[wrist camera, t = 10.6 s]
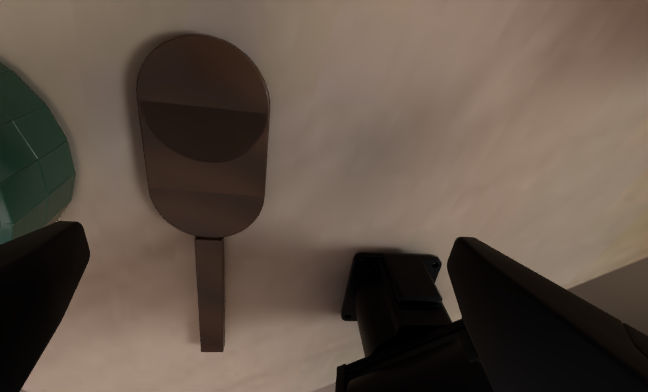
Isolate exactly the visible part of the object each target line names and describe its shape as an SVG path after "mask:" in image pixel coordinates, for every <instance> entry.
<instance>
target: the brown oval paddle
mask: <svg viewBox="0 0 648 392" xmlns="http://www.w3.org/2000/svg"><path fill="white" fill-rule="evenodd" d="M136 90H137V102H138V110H139V118H140V126H141V134H142V141H143V149H144V157H145V165H146V173H147V181H148V189H149V194H150V197H151V200H152V202H153V204H154V206H155V208H156V209H157V211H158V212H159V214H160V215H161V216H162V217H163V218H164V219H165V220H166V221H167V222H169V223H170V224H171V225H173V226H174V227H176V228H177V229H179V230H181V231H183V232H185V233H188V234H191V235H194V236H196V238H195V255H196V272H197V290H198V307H199V325H200V342H201V352H223V350H224V345H225V310H224V237H227V236H231V235H234V234H236V233H239V232H241V231H242V230H244V229H246V228H247V227H248V226H249V225H251V224H252V223H253V222H254V221H255V220H256V218H257V217H258V215H259V214H260V211H261V209H262V206H263V203H264V196H265V182H266V166H267V150H268V134H269V118H270V99H269V93H268V89H267V85H266V83H265V80H264V78H263V76H262V74H261V73H260V71H259V69H258V68H257V66H256V65H255V64H254V62H253V61H252V60H251V59H250V58H249V57H248V56H247V55H246V54H245V53H244V52H242V51H241V50H240V49H239V48H237V47H236V46H234V45H232V44H231V43H229V42H227V41H225V40H222V39H219V38H217V37H213V36H209V35H201V34H190V35H183V36H179V37H175V38H173V39H170V40H168V41H166V42H164V43H162V44H160V45H159V46H158V47H156V48H155V49H154V50H153V51H152V52H151V53H150V54H149V55H148V57H147V58H146V59H145V61H144V63H143V64H142V67H141V69H140V72H139V75H138V79H137V89H136Z"/></svg>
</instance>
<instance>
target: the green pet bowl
mask: <svg viewBox="0 0 648 392" xmlns="http://www.w3.org/2000/svg"><path fill="white" fill-rule="evenodd" d="M74 179H75V170H74V165H73V161H72V157H71V153H70V149H69V145H68V141H67V138H66V137H65V135H64V133H63V132H62V130H61V128H60V127H59V125H58V123H57V122H56V120H55V118H54V117H53V115H52V113H51V112H50V110H49V108H48V106H47V105H46V104H45V103H44V102H43V101H42V100H41V99H40V98H39V97H38V96H37V95H36V94H35V93H34V92H33V91H32V90H31V89H30V88H29V87H28V86H27V85H26V84H25V83H24V82H23V81H22V80H21V78H20V77H19V76H18V75H17V74H16V73H15V72H14V71H12V70H10V69H9V68H8V67H6V66H5V65H3V64H2V63H0V245H1V244H3V243H6V242H8V241H11V240H13V239H16V238H18V237H21V236H23V235H25V234H28V233H30V232H33V231H35V230H38V229H40V228H43V227H45V226H48V225H50V224H53V223H55V222H56V221H57V220H58V218H59V217H60V215H61V214H62V213H63V211H64V210H65V208H66V207H67V206H68V204H69V203H70V201H71V198H72V192H73V186H74Z"/></svg>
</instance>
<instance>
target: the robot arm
mask: <svg viewBox="0 0 648 392" xmlns="http://www.w3.org/2000/svg"><path fill="white" fill-rule="evenodd" d="M89 258H90V250H89V246H88V243H87V239H86V236H85V232H84V229H83V226H82V225H81V224H80V223H79V222H70V221H58V222H55V223H53V224H50V225H48V226H45V227H43V228H40V229H38V230H35V231H33V232H30V233H28V234H25V235H23V236H21V237H18V238H16V239H13V240H11V241H8V242H6V243H3V244H1V245H0V392H19V391H20V390H21V388H22V387H23V385H24V383H25V381H26V380H27V378H28V376H29V375H30V373H31V371H32V370H33V368H34V366H35V365H36V363H37V361H38V360H39V358H40V356H41V355H42V353H43V351H44V350H45V348H46V346H47V345H48V343H49V341H50V339H51V338H52V336H53V334H54V333H55V331H56V329H57V327H58V326H59V324H60V322H61V320H62V318H63V316H64V314H65V312H66V310H67V308H68V306H69V303H70V301H71V299H72V297H73V295H74V292H75V290H76V288H77V286H78V284H79V281H80V279H81V277H82V275H83V273H84V270H85V268H86V266H87V264H88V261H89ZM360 259H363V260H362V261H359V260H360ZM433 263H435V264H433ZM441 265H442V263H441V261H440V259H439V258H438V257H435V256H416V255H396V254H376V253H358V254H356V255H355V256H354V258H353V262H352V266H351V270H350V275H349V279H348V283H347V288H346V292H345V296H344V301H343V305H342V309H341V317H342V319H343V320H344V321H357V322H358V326H359V331H360V335H361V340H362V345H363V349H364V354H365V358H362V359H360V360H357V361H355V362H352V363H350V364H347V365H346V364H343V365H341V366H338V367H337V378H336V389H335V392H648V336H647V335H645V334H643V333H642V332H640V331H638V330H636V329H635V328H633V327H631V326H629V325H628V324H626V323H622V322H621V321H620V320H619V319H617V318H615V317H613V316H612V315H610V314H608V313H606V312H605V311H603V310H601V309H599V308H597V307H596V306H594V305H592V304H590V303H589V302H587V301H585V300H583V299H582V298H580V297H578V296H576V295H575V294H573V293H571V292H569V291H567V290H566V289H564V288H562V287H561V286H559V285H557V284H555V283H553V282H552V281H550V280H548V279H546V278H545V277H543V276H541V275H539V274H538V273H536V272H534V271H532V270H531V269H529V268H527V267H525V266H524V265H522V264H520V263H518V262H516V261H515V260H513V259H511V258H509V257H508V256H506V255H504V254H502V253H501V252H499V251H497V250H495V249H494V248H492V247H490V246H488V245H487V244H485V243H483V242H481V241H479V240H478V239H476V238H473V237H458V238H457V239H456V240H455V242H454V245H453V248H452V250H451V253H450V256H449V259H448V262H447V270H448V274H449V277H450V280H451V283H452V286H453V289H454V293H455V296H456V299H457V302H458V305H459V309H460V312H461V315H462V319H460V320H457V321H455V322H452V321H451V319H450V317H449V315H448V313H447V311H446V309H445V307H444V305H443V303H442V297H441V295H440V293H439V291H438V289H437V287H436V286H435V284H434V283H435V281H436V278H437V276H438V273H439V271H440V268H441ZM347 314H348V315H347Z"/></svg>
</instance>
